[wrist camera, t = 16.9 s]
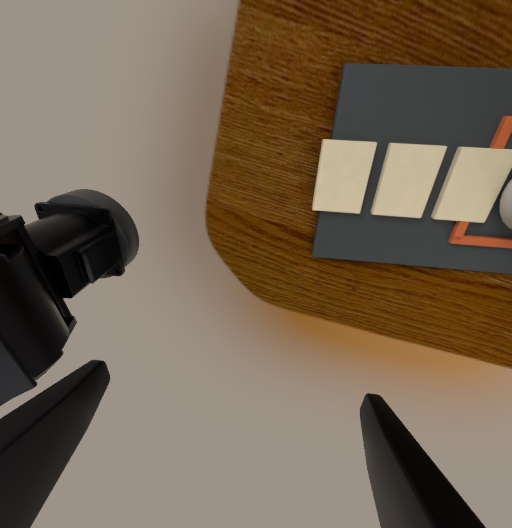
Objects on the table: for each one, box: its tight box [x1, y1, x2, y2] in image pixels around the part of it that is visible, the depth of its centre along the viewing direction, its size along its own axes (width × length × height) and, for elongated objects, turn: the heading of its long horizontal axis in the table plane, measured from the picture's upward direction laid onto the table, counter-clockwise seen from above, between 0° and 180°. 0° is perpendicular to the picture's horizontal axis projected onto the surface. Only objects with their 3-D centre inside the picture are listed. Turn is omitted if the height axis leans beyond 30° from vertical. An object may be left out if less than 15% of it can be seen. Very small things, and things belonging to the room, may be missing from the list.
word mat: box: [312, 63, 512, 274], centre depth 16 cm, size 21×12×1 cm, turn 87°
